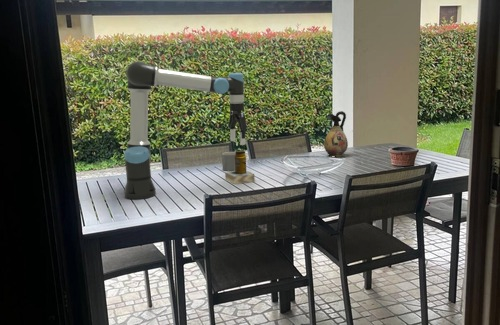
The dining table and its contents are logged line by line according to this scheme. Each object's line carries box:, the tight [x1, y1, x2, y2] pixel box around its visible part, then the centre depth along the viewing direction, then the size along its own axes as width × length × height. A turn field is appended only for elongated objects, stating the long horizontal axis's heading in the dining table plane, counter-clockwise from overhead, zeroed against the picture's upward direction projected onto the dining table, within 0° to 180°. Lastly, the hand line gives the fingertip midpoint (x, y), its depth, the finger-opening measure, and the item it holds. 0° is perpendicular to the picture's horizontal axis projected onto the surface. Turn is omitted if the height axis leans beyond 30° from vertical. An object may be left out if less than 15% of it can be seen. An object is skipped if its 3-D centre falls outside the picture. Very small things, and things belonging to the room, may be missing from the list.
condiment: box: [230, 150, 250, 175], centre depth 244 cm, size 7×8×12 cm
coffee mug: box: [221, 151, 236, 172], centre depth 274 cm, size 13×10×10 cm
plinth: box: [224, 169, 255, 185], centre depth 246 cm, size 12×12×4 cm
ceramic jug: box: [323, 110, 349, 158], centre depth 299 cm, size 17×15×30 cm
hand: (237, 142), depth 242 cm, fingers open, 13 cm apart
